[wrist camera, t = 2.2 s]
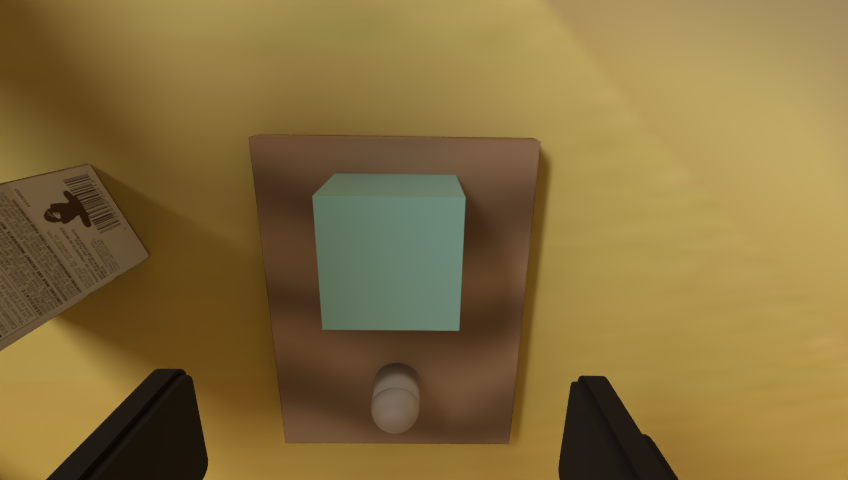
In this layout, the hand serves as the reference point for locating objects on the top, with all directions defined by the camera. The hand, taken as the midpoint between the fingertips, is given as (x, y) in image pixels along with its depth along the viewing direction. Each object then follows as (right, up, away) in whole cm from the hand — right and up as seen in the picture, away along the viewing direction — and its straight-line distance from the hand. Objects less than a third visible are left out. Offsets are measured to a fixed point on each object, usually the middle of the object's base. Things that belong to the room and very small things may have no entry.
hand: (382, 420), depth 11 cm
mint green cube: (-1, +5, +13) cm, 14 cm away
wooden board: (-1, +1, +16) cm, 16 cm away
